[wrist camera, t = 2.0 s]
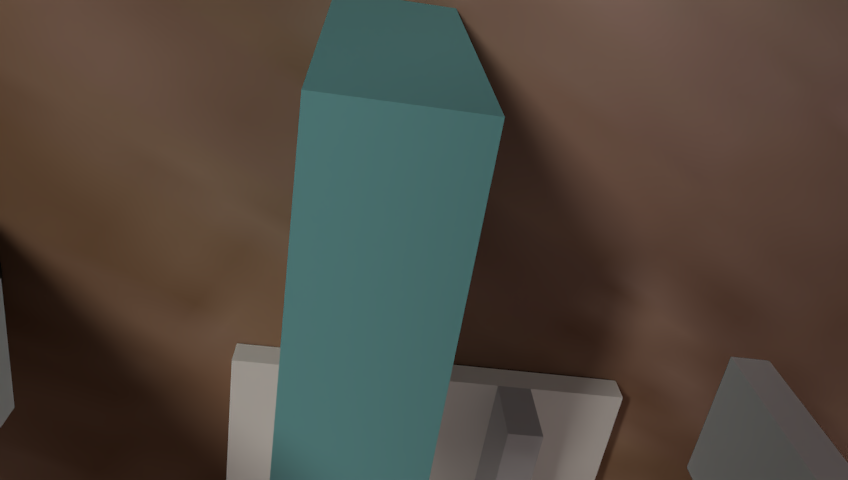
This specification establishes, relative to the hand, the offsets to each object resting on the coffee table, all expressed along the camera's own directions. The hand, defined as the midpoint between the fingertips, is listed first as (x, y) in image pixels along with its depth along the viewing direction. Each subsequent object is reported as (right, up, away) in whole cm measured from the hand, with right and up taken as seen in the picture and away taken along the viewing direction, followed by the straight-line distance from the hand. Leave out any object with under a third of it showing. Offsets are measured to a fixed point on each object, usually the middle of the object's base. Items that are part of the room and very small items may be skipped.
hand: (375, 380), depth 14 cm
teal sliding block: (-1, +6, +10) cm, 11 cm away
